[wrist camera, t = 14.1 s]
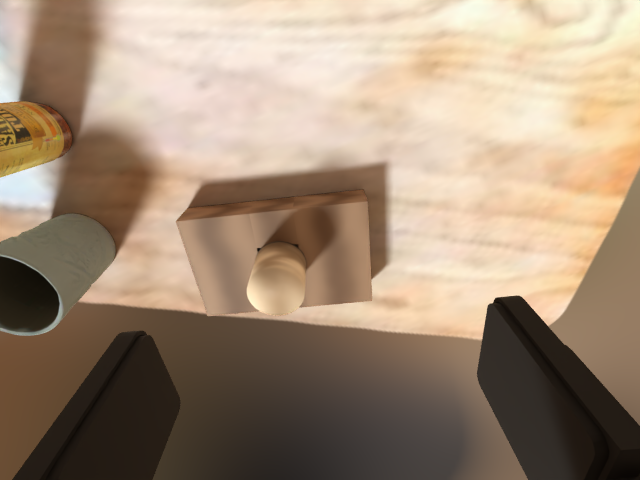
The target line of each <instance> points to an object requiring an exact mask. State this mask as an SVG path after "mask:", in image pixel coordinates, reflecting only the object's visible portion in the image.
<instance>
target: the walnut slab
mask: <svg viewBox="0 0 640 480" xmlns="http://www.w3.org/2000/svg"><path fill="white" fill-rule="evenodd" d="M176 223H177V226H178V229H179V232H180V235H181V238H182V241H183V244H184V247H185V250H186V253H187V256H188V259H189V262H190V265H191V268H192V271H193V274H194V277H195V280H196V283H197V286H198V289H199V291H200V294H201V297H202V300H203V303H204V306H205V309H206V312H207V315H208V316H214V315H225V314H236V313H246V312H257V311H259V310H257V309H256V308H255V307H254V306H253V305H252V304H251V303H250V301H249V299H248V296H247V286H248V282H249V279H250V276H251V272H252V269H253V266H254V263H255V259H256V255H257V253H258V252H259V250H260V249H261V248H262V247H263V246H265V245H266V244H268V243H271V242H275V241H284V242H289V243H291V244H298V246H299V249H300V250H301V251H302V252H303V254H304V256H305V258H306V278H305V297H304V300H303V302H302V304H301V305H300V307H310V306H321V305H332V304H342V303H353V302H363V301H372V285H371V262H370V239H369V216H368V200H367V198H366V195H365V193H364V190H354V191H344V192H335V193H325V194H316V195H307V196H297V197H288V198H278V199H269V200H260V201H250V202H241V203H231V204H222V205H213V206H203V207H194V208H187V209H186V210H185V212H184V213H183V214H182V215H181V216H180V217H179V218H178V220H177V221H176ZM300 307H299V308H300Z"/></svg>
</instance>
